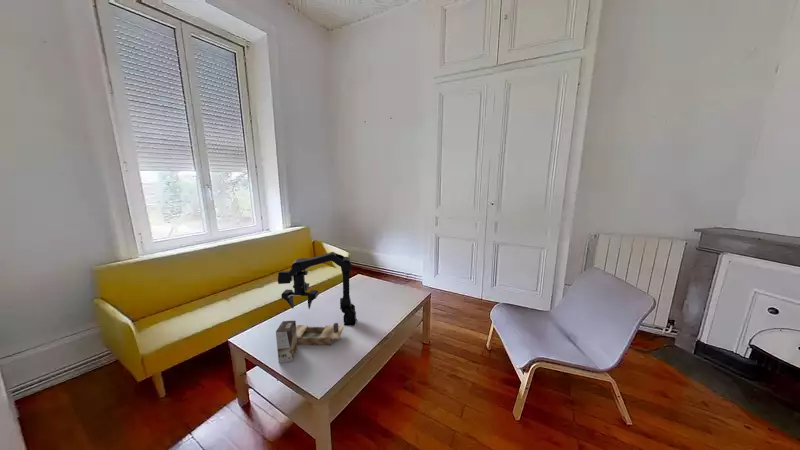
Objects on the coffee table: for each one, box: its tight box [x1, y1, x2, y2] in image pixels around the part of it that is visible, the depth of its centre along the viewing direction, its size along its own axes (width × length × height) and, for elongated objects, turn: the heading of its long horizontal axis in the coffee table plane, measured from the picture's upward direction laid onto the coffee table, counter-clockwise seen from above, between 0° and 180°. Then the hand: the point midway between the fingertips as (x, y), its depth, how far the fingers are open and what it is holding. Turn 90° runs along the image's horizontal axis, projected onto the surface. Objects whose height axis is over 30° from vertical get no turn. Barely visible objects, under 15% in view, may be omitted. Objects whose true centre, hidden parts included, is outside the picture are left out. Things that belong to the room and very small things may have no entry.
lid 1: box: [296, 324, 309, 338], centre depth 139 cm, size 10×10×5 cm
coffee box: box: [275, 320, 299, 363], centre depth 126 cm, size 9×6×16 cm
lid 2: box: [320, 322, 345, 340], centre depth 139 cm, size 10×10×5 cm
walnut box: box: [297, 326, 334, 347], centre depth 140 cm, size 20×10×4 cm, turn 89°
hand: (301, 308), depth 148 cm, fingers open, 9 cm apart
